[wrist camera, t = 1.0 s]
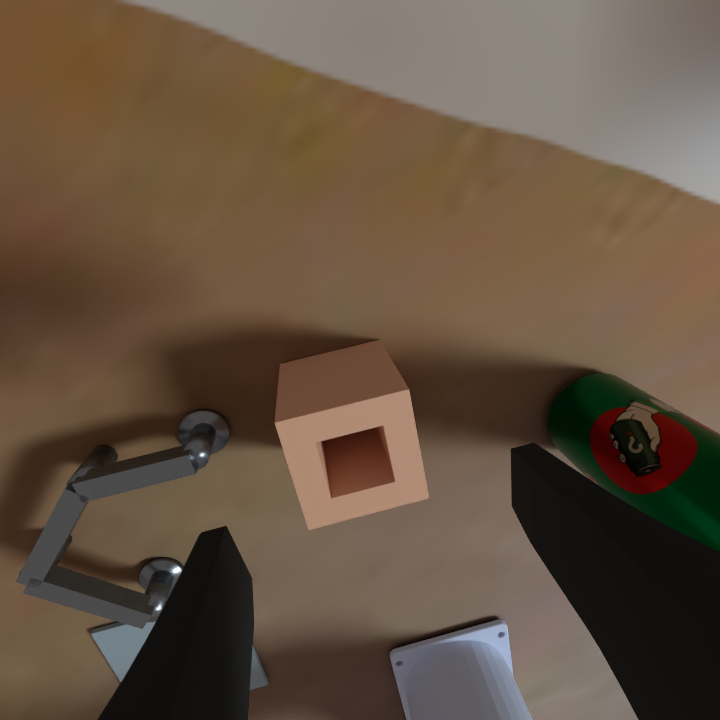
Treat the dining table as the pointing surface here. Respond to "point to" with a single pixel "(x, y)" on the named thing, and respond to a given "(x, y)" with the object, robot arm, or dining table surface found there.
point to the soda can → (641, 452)
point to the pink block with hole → (349, 434)
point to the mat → (127, 641)
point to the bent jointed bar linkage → (106, 478)
